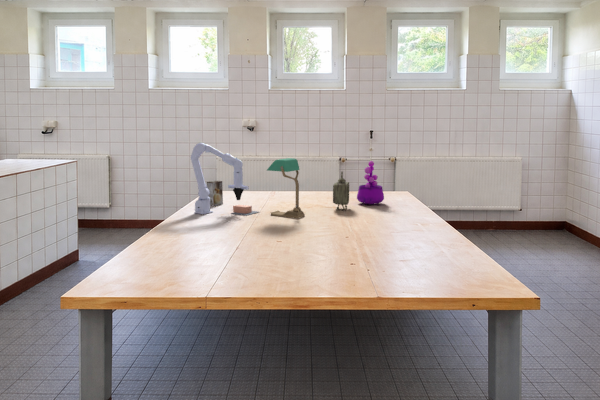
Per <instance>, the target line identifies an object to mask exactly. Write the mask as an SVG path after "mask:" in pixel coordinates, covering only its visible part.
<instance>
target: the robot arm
mask: <svg viewBox="0 0 600 400" xmlns="http://www.w3.org/2000/svg"><path fill="white" fill-rule="evenodd" d="M204 152H205V153H211V154H213V155H214V156H217V157H219V158H220V159H221V160H222V162H224V163H226V164H227V165H230V166H231V167H233V184H228V185H227V188H228V189H232V191H233V193H234V195H235V198H236V201H240V200H241V197H242V196H243V195H242V194H243V193H244V191H245V190H249V186H248V185H244V184H243V183H244V178H243V177H244V173H243V166H244V163H243V161H242V160H241V159H240V158H238V157H235V156H233V155H232V154H231V153H230V152H229V153H228V152H226V153H223V152H222V151H220V150H219V149H217V148H215V147H213V146H211V145H210V144H207V143H206V144H205V143H204V142H198V143H196V145H194V147H193V148H192V152H191V155H190V160H191V163H192V164H191V165H192V168H193V171H194V175H195V180H196V184H197V190H198V194H197V195H198V198H197V200H195V202H194V212H193V214H200V215H206V214H210V213H211V214H212V213H213V212H214V211H213V210H211V205H210V197H209V196H208V195H209V194H210V191H209V189H208V188H207V182H206V181H205V177H204V176H205V175H204V173H203V169H202V165H201V161H200V157H201V156H202V154H203V153H204Z"/></svg>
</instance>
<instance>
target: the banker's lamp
mask: <svg viewBox="0 0 600 400" xmlns="http://www.w3.org/2000/svg"><path fill="white" fill-rule="evenodd" d="M298 161H299V160H298V159H297V158H295V157H294V158H291V157H287V158H279V159H275V160H273V162H272V163H271V165H269V167H268V168H267V169H266V171H269V172H270V171H271V172H281V173H282V176H283V177H284V178H288V179H292V180H293V181H294V183H295V207H292V208H293V209H289V210H287V211H280V210H275V211H272V212H270V216H271V217H272V216H274V217H280V218H281V217H282V218H291V219H300V218H303V217H305V215H306V214H305V213H304V211H303V210H302V209H301V207H300V195H299V194H300V187H299V186H300V184H299V183H300V182H299V180H298V177H299V174H300V172H299V171H300V166H299V162H298ZM294 171H295V173H296V175H295V177H292V176H290V175H287V174H286V173H289V172H294Z"/></svg>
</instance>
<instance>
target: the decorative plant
mask: <svg viewBox="0 0 600 400" xmlns="http://www.w3.org/2000/svg"><path fill="white" fill-rule="evenodd" d="M374 165H375V162H374V161H373V160H370V161H368V166H367V167H365V168H364V173H365V175H364V176H363V177H364V179H365V180H366V181H367V182H366V183H365V184H361V185H359V186H358V191H357V194H356V200H357V201H358V202H360V203H361V204H364V205H377V204H379V203H382V202H383V201H384V200H385V194H384V190H383V186H382V185H378V181H377V180H378V175H377V174H373V171H374V169H375V167H374Z"/></svg>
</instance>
